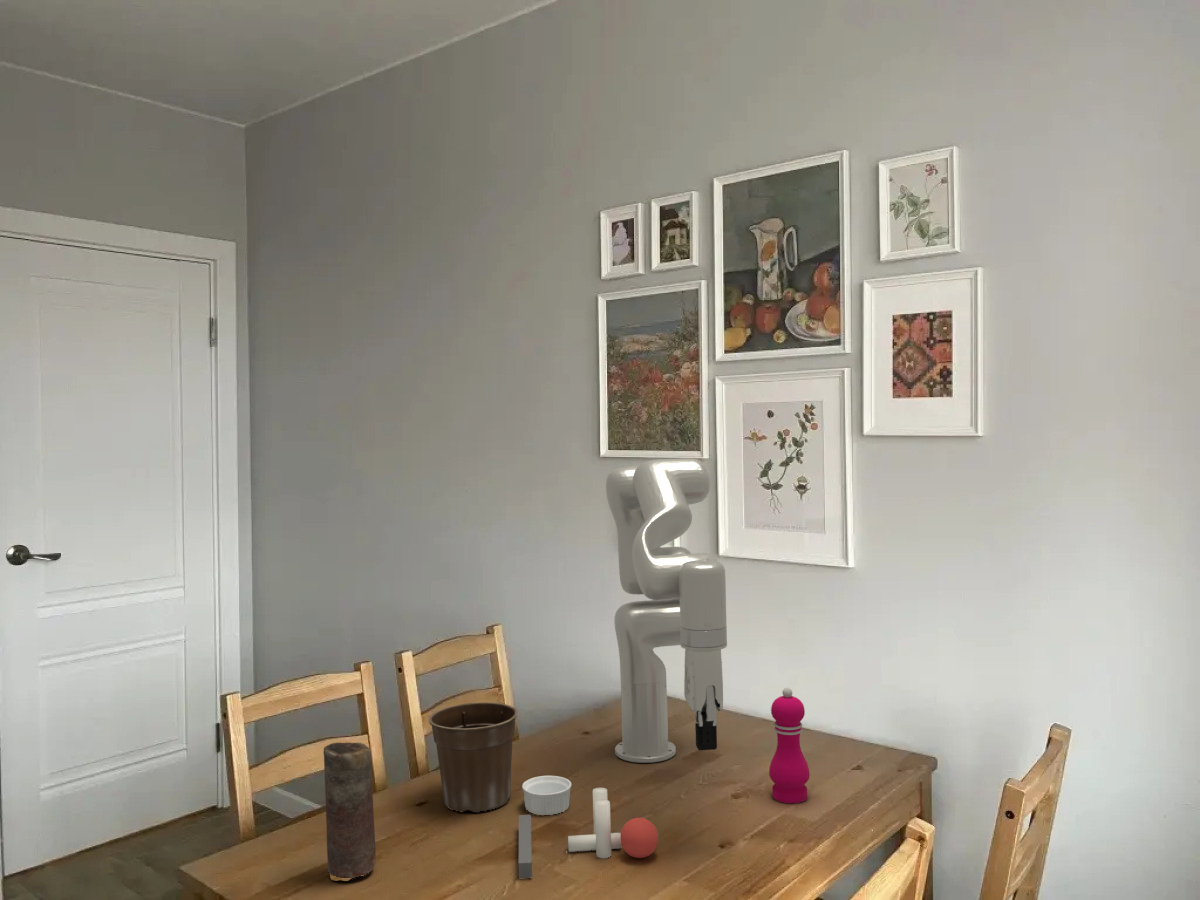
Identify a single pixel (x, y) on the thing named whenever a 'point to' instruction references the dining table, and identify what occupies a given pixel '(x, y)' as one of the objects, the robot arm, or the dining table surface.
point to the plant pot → (475, 754)
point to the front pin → (591, 842)
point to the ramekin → (546, 794)
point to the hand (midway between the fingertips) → (706, 748)
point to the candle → (349, 809)
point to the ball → (639, 837)
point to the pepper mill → (788, 750)
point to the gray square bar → (525, 847)
